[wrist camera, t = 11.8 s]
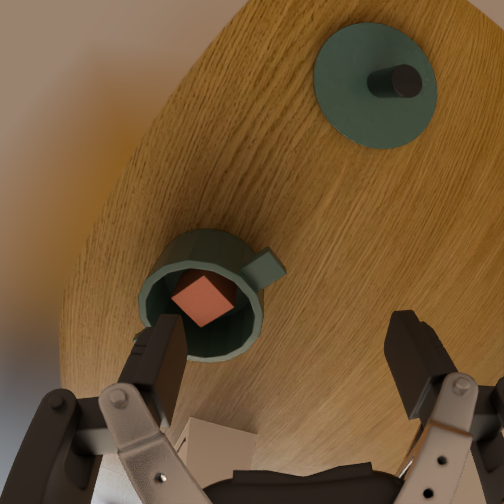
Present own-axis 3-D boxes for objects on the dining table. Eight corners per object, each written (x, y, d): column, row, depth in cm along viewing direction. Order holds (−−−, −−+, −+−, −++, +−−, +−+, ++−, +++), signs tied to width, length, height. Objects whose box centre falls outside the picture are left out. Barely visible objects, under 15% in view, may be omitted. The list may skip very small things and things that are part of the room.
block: (180, 275, 31) (170, 298, 28) (210, 253, 30) (204, 274, 27) (207, 303, 33) (200, 328, 29) (237, 283, 32) (234, 307, 28)
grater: (233, 460, 48) (225, 561, 30) (175, 445, 46) (154, 547, 28) (257, 434, 44) (253, 553, 26) (190, 416, 42) (167, 539, 24)
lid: (284, 64, 23) (291, 51, 17) (385, 6, 20) (416, -15, 14) (359, 170, 27) (386, 190, 21) (450, 110, 24) (492, 116, 18)
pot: (123, 280, 32) (98, 316, 27) (240, 188, 28) (233, 212, 22) (188, 344, 36) (177, 386, 30) (306, 273, 31) (315, 312, 26)
